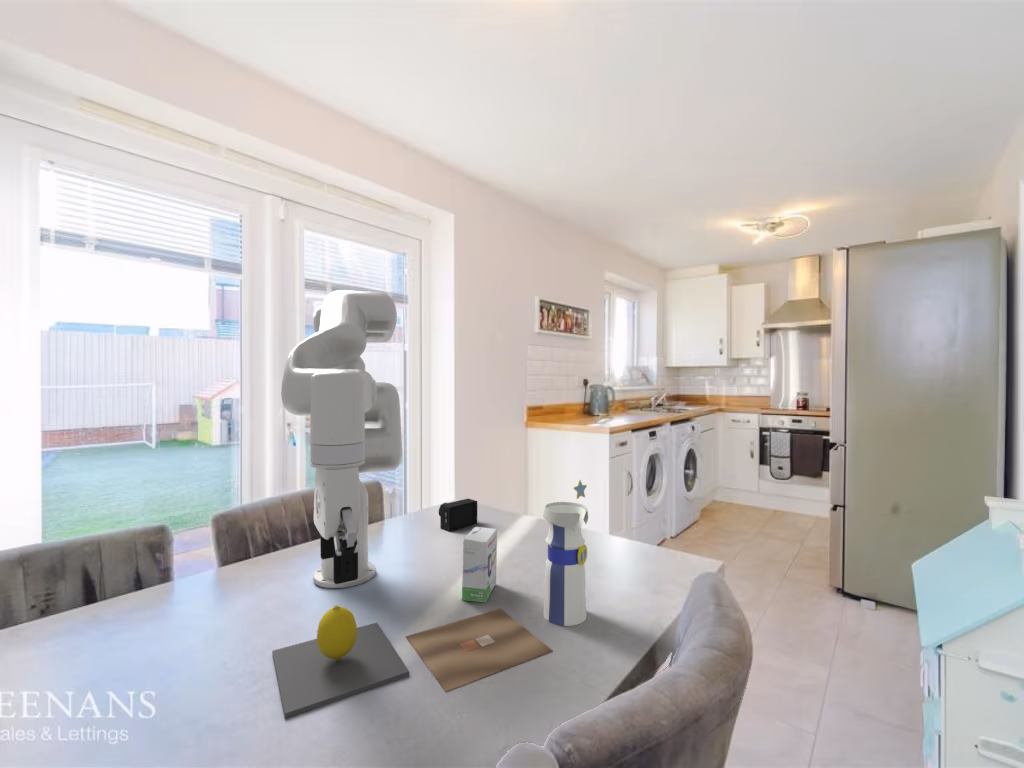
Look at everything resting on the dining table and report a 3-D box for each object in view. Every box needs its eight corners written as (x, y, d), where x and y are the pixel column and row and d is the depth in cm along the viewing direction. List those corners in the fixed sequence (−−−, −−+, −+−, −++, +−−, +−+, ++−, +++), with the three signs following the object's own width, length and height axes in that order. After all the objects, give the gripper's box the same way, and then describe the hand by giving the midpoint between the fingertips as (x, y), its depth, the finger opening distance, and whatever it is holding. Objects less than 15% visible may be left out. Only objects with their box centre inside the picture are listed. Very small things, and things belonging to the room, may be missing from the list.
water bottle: (596, 610, 86) (596, 473, 86) (578, 631, 78) (578, 482, 78) (555, 599, 90) (555, 469, 90) (534, 618, 83) (534, 477, 83)
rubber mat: (272, 654, 72) (272, 650, 72) (376, 625, 80) (376, 622, 80) (284, 718, 58) (284, 713, 58) (409, 675, 67) (409, 671, 67)
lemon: (309, 666, 68) (307, 611, 68) (337, 646, 73) (336, 595, 73) (338, 675, 66) (336, 618, 66) (365, 653, 71) (364, 600, 71)
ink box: (473, 582, 98) (473, 525, 98) (497, 584, 97) (497, 527, 97) (460, 601, 89) (460, 539, 89) (487, 603, 88) (487, 541, 88)
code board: (405, 637, 77) (405, 636, 77) (500, 609, 86) (500, 608, 86) (445, 692, 63) (445, 690, 63) (552, 651, 73) (552, 650, 73)
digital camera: (465, 520, 142) (465, 497, 141) (477, 524, 138) (477, 500, 138) (437, 528, 134) (437, 503, 134) (449, 532, 130) (449, 507, 130)
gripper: (301, 447, 74) (302, 553, 75) (321, 467, 60) (322, 599, 60) (350, 443, 78) (350, 545, 79) (380, 461, 64) (380, 585, 64)
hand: (338, 568), depth 70 cm, fingers open, 9 cm apart
